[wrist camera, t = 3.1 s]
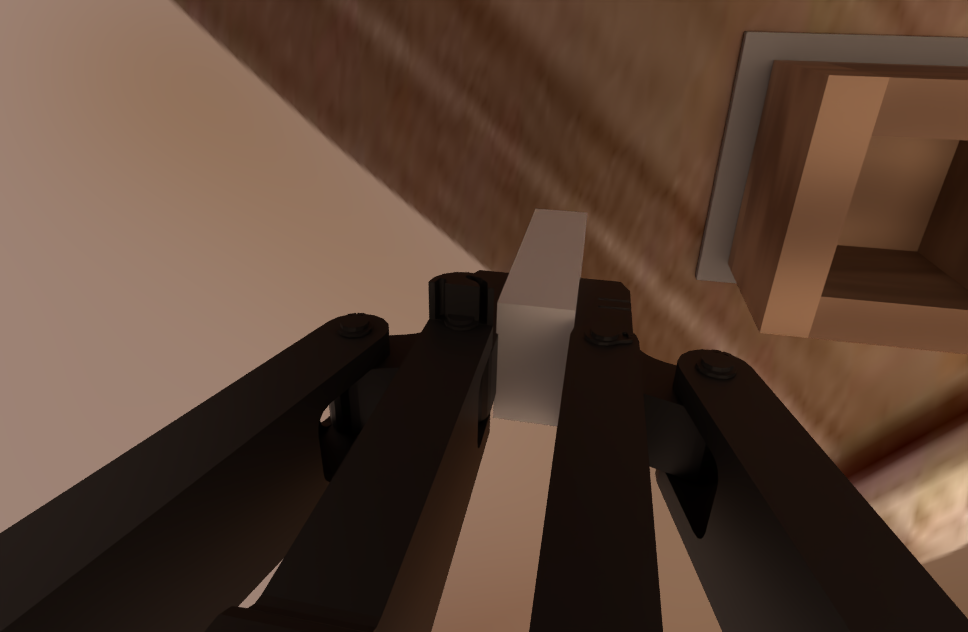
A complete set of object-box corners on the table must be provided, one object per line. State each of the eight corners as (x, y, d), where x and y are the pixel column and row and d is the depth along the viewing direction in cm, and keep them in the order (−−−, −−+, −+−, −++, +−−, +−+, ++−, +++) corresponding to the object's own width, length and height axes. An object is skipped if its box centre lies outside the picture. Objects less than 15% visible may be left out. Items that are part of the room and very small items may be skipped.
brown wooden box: (774, 59, 24) (828, 75, 18) (1022, 68, 23) (1173, 87, 17) (727, 263, 28) (759, 332, 22) (934, 281, 27) (1030, 361, 21)
